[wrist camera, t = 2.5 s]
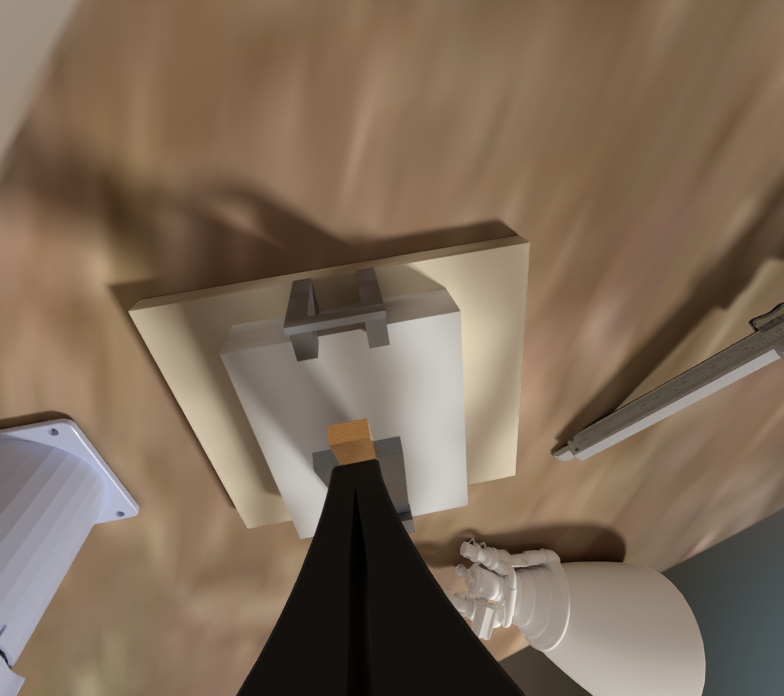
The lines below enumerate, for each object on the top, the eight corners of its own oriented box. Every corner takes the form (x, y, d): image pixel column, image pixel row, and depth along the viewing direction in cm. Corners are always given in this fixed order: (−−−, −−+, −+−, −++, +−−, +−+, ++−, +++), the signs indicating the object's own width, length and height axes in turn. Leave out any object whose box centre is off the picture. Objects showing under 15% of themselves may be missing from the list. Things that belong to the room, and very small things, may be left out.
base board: (250, 512, 26) (233, 600, 22) (138, 297, 18) (69, 366, 13) (508, 461, 27) (545, 535, 23) (519, 233, 19) (583, 275, 14)
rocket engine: (455, 704, 24) (692, 777, 26) (507, 514, 27) (716, 595, 29) (407, 615, 35) (577, 672, 37) (447, 487, 38) (602, 548, 40)
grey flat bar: (355, 511, 22) (357, 523, 22) (296, 431, 11) (297, 451, 11) (407, 501, 22) (409, 512, 22) (397, 412, 12) (401, 431, 11)
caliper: (838, 217, 21) (1009, 254, 16) (844, 230, 21) (1012, 270, 16) (549, 451, 28) (601, 531, 23) (558, 456, 28) (611, 537, 23)
